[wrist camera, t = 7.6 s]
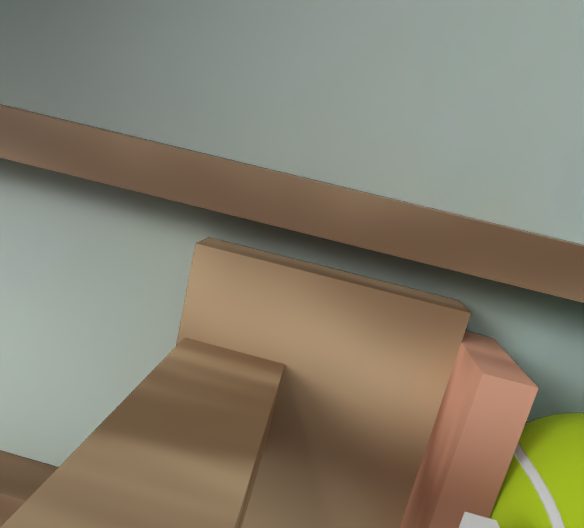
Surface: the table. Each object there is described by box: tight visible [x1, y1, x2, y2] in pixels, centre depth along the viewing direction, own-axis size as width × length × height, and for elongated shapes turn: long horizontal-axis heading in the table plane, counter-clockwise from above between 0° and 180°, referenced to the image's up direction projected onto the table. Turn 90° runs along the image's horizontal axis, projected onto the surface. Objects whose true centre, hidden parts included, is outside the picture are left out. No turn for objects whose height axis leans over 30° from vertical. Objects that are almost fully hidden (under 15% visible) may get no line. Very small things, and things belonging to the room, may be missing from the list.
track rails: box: [0, 104, 584, 527], centre depth 17 cm, size 16×26×2 cm, turn 77°
